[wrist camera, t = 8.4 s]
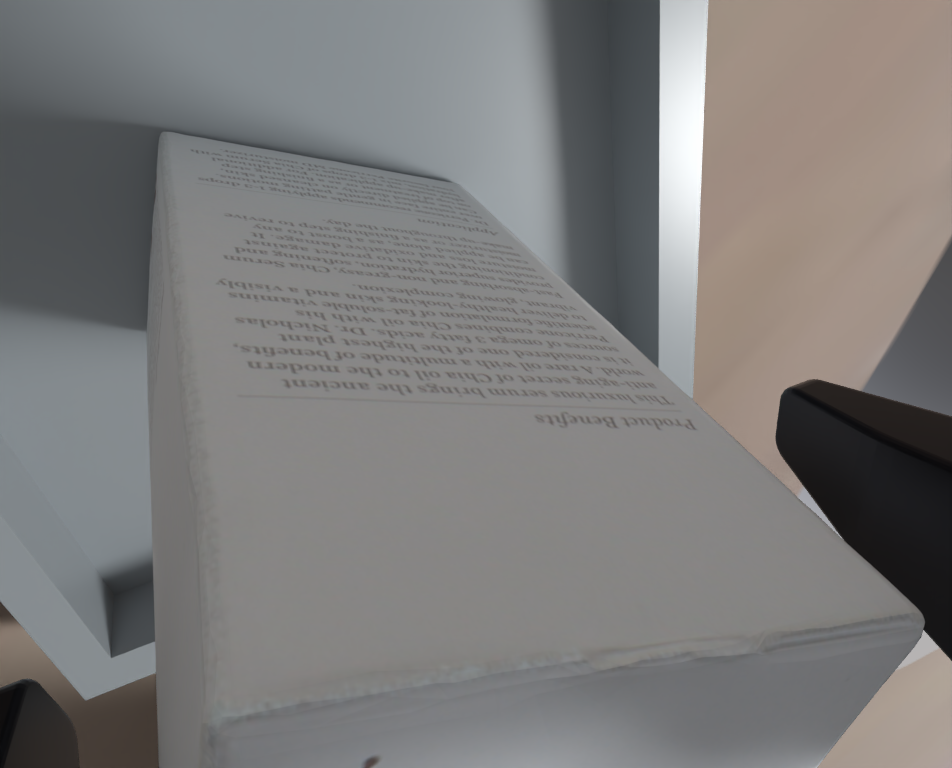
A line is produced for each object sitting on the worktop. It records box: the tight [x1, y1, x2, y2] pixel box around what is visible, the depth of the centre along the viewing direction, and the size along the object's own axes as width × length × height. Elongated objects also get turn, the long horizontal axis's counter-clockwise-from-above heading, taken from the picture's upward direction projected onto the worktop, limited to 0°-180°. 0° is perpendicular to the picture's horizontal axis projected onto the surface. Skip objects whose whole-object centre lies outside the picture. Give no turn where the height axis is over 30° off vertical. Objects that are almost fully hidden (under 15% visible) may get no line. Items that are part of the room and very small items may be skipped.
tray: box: [0, 0, 708, 701], centre depth 15 cm, size 16×16×2 cm
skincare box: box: [146, 131, 925, 768], centre depth 10 cm, size 6×4×12 cm
